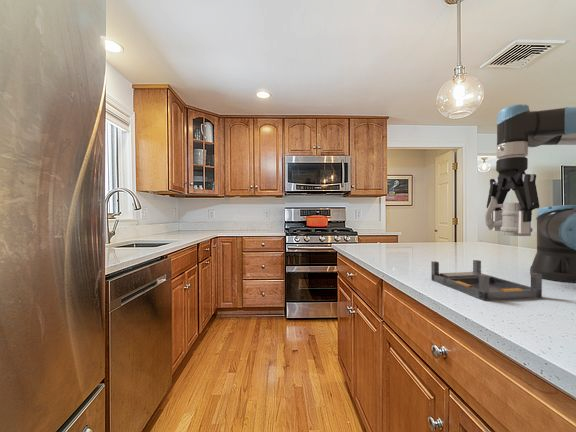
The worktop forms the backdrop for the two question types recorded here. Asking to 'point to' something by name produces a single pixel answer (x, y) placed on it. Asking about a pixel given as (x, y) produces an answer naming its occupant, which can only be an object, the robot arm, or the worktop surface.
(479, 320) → the worktop surface
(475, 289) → the tray
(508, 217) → the mug
